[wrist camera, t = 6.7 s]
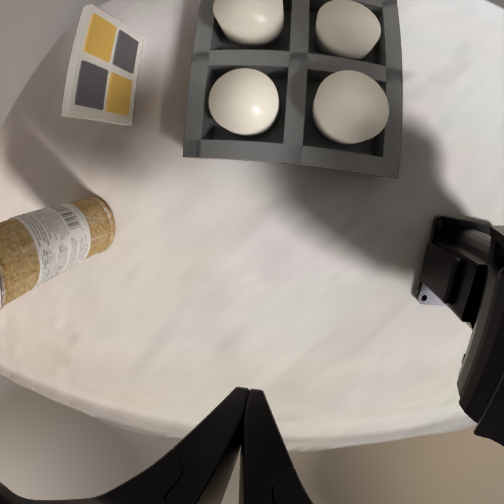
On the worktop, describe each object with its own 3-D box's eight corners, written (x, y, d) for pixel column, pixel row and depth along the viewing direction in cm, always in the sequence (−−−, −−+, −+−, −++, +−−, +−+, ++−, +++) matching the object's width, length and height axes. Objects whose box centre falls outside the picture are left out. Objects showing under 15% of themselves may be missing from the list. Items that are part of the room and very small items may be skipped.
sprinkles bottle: (67, 218, 21) (-66, 269, 8) (97, 183, 20) (-56, 219, 7) (95, 263, 22) (-31, 342, 9) (128, 231, 21) (-18, 308, 8)
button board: (383, 19, 14) (396, -1, 11) (381, 176, 17) (397, 178, 14) (215, 5, 15) (204, -17, 12) (199, 158, 18) (182, 157, 15)
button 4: (285, 1, 12) (284, -19, 10) (282, 48, 13) (281, 31, 11) (225, 1, 13) (216, -18, 10) (219, 47, 14) (209, 31, 12)
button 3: (281, 82, 15) (280, 69, 13) (277, 139, 16) (275, 134, 14) (221, 80, 16) (211, 68, 13) (216, 135, 17) (205, 131, 14)
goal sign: (145, 39, 16) (93, 2, 10) (134, 125, 18) (70, 114, 12) (136, 40, 16) (83, 6, 10) (125, 126, 18) (61, 116, 12)
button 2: (369, 22, 13) (378, 6, 11) (371, 68, 14) (382, 55, 12) (314, 13, 13) (316, -5, 11) (313, 58, 14) (316, 44, 12)
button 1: (376, 89, 13) (389, 78, 11) (373, 149, 14) (387, 146, 12) (313, 79, 14) (317, 65, 12) (309, 140, 15) (313, 135, 13)
